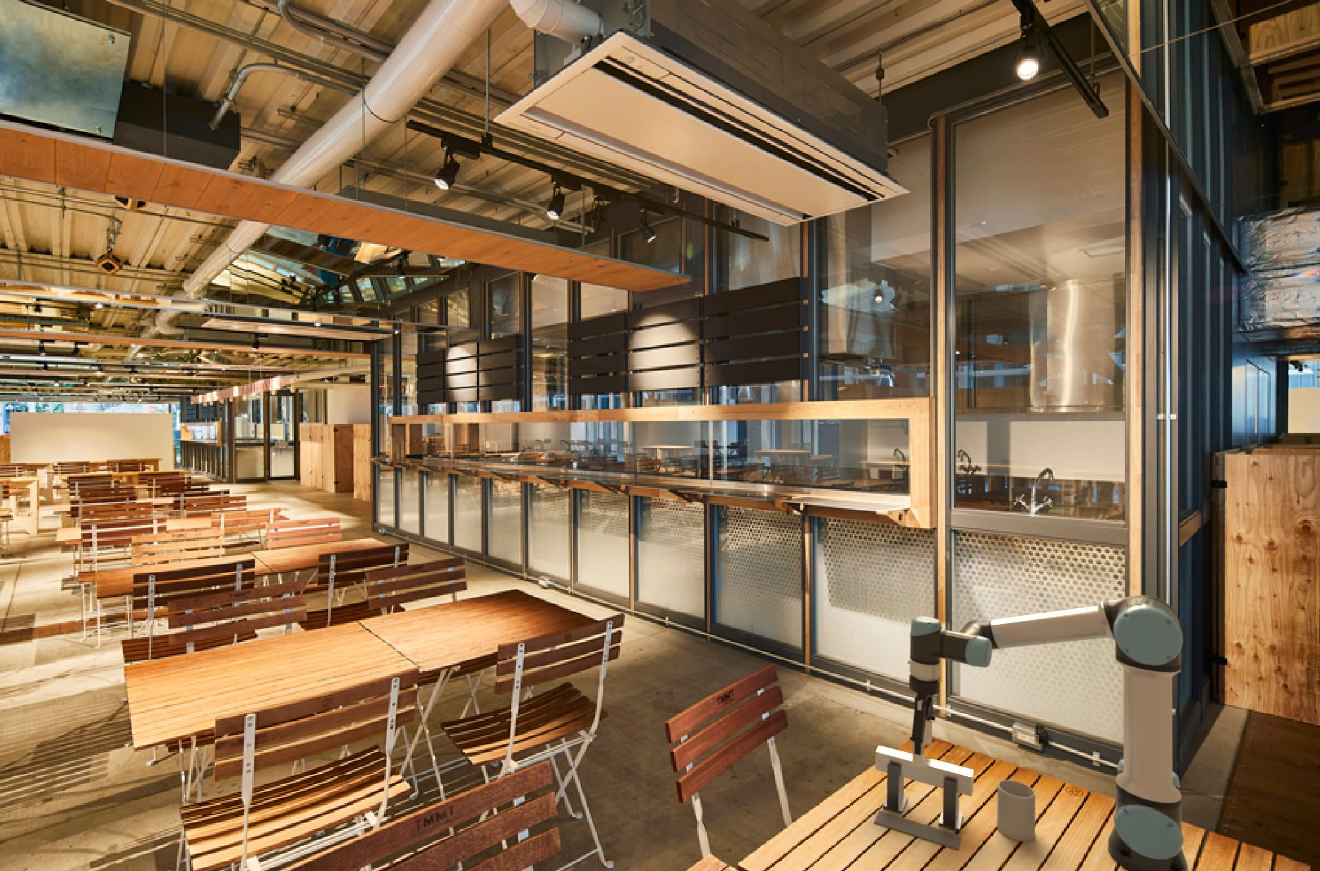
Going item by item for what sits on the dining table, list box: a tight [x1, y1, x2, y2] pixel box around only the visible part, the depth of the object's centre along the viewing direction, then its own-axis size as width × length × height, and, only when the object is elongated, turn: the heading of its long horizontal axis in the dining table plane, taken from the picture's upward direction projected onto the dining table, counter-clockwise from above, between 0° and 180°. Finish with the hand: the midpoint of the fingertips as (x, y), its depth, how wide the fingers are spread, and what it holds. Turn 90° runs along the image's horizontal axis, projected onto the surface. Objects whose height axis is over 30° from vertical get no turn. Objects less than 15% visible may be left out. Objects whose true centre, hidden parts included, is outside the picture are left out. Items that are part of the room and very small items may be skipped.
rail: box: [874, 745, 974, 797], centre depth 170 cm, size 24×4×5 cm, turn 59°
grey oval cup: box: [996, 779, 1036, 842], centre depth 164 cm, size 12×8×11 cm
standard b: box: [882, 764, 909, 815], centre depth 174 cm, size 5×8×12 cm, turn 149°
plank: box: [873, 809, 962, 851], centre depth 162 cm, size 20×6×1 cm, turn 59°
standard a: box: [938, 779, 964, 833], centre depth 166 cm, size 5×8×12 cm, turn 148°
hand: (922, 754), depth 170 cm, fingers open, 13 cm apart
